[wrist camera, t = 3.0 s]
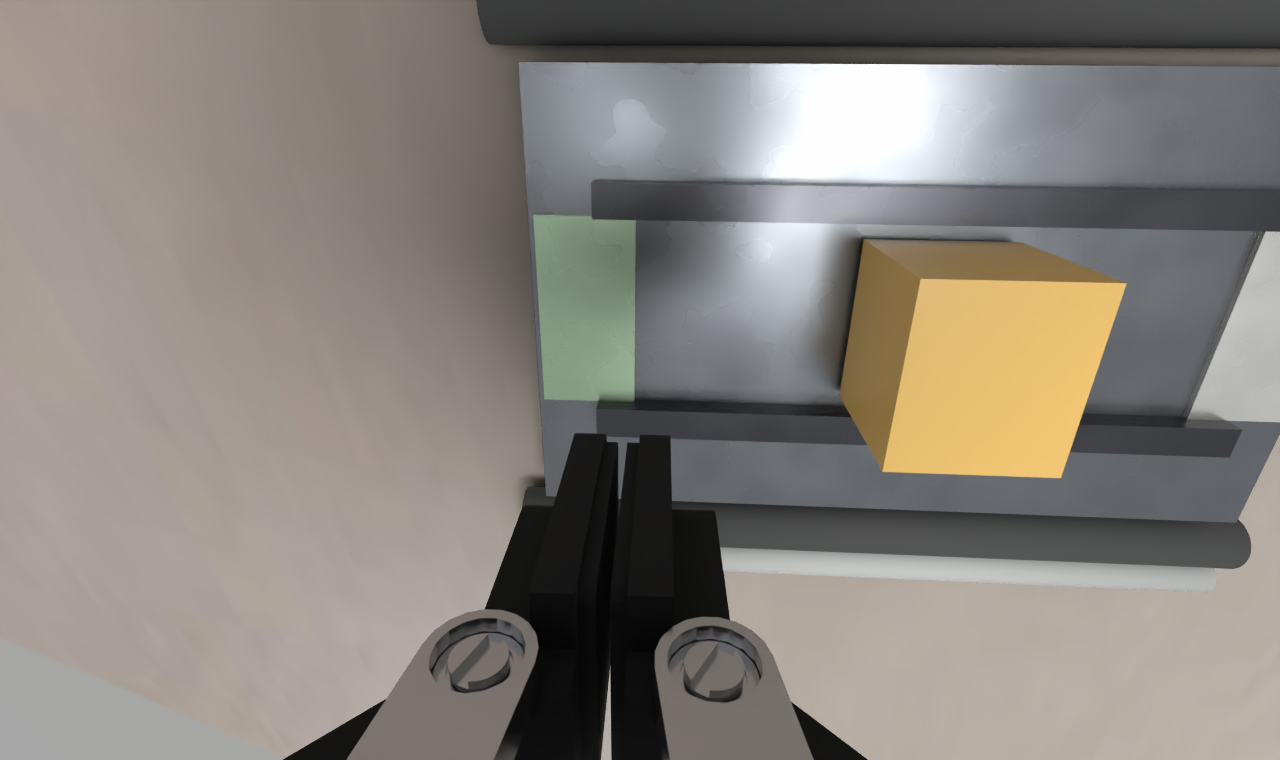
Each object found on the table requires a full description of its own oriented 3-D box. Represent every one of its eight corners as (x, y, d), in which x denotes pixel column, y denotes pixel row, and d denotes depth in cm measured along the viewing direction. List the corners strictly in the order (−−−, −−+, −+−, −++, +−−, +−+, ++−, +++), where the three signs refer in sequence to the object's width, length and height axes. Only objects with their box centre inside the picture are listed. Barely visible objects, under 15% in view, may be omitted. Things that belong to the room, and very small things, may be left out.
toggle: (1020, 241, 17) (1126, 283, 13) (979, 400, 19) (1061, 478, 15) (863, 239, 18) (920, 279, 14) (839, 395, 20) (882, 471, 16)
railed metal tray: (1376, 72, 17) (1499, 66, 15) (1191, 489, 23) (1256, 537, 20) (533, 66, 18) (510, 60, 16) (556, 466, 24) (541, 509, 22)
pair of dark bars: (1464, -34, 16) (1564, -52, 14) (1180, 574, 25) (1220, 612, 23) (493, -33, 17) (472, -49, 16) (536, 547, 26) (526, 581, 24)
